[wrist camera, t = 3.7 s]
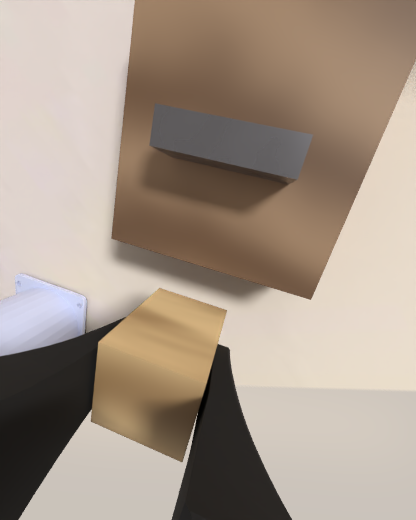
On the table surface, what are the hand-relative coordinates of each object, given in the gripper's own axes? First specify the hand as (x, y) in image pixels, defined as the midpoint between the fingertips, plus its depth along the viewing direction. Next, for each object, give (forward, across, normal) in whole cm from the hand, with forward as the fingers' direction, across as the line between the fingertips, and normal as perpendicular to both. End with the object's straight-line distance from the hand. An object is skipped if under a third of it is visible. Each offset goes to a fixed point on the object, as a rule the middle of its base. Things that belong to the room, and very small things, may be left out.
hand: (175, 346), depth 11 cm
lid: (+3, 0, -11) cm, 11 cm away
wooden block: (+2, 0, 0) cm, 2 cm away
